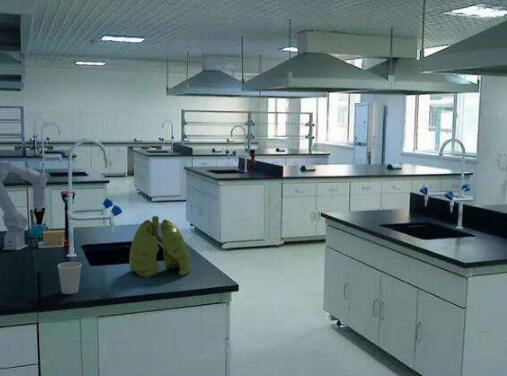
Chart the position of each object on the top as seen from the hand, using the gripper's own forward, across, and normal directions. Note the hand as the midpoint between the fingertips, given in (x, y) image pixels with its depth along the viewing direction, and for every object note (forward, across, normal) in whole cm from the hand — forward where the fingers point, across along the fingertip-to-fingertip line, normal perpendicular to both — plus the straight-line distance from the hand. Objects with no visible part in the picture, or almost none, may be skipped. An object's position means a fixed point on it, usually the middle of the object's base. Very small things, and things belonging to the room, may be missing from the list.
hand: (39, 223), depth 279 cm
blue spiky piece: (+10, +11, 0) cm, 15 cm away
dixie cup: (+10, -88, -12) cm, 90 cm away
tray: (+9, -10, -6) cm, 15 cm away
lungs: (+10, -72, -48) cm, 87 cm away
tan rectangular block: (+9, -10, -7) cm, 15 cm away
